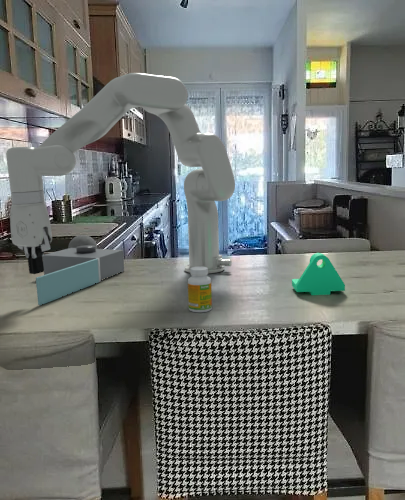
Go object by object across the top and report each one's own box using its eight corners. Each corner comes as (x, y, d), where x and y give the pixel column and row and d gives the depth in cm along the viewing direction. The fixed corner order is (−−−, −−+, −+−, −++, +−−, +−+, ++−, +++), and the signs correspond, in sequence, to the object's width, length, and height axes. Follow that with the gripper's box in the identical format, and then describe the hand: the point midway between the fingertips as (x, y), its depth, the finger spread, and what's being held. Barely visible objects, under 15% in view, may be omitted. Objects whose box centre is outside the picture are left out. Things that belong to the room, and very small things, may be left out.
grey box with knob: (124, 271, 153) (122, 245, 152) (99, 281, 140) (97, 252, 139) (72, 268, 161) (70, 243, 159) (44, 277, 148) (42, 250, 146)
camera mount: (336, 287, 127) (337, 249, 126) (344, 295, 120) (345, 254, 118) (291, 288, 127) (291, 250, 126) (296, 296, 120) (297, 255, 118)
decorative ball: (69, 261, 173) (67, 234, 171) (97, 259, 175) (96, 232, 174) (68, 266, 164) (66, 237, 162) (98, 264, 166) (96, 236, 164)
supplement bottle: (201, 314, 106) (200, 271, 105) (183, 310, 110) (182, 268, 108) (216, 308, 110) (215, 267, 109) (199, 304, 114) (197, 264, 112)
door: (98, 281, 140) (96, 258, 139) (101, 281, 140) (100, 258, 139) (37, 304, 117) (35, 277, 116) (41, 305, 116) (39, 277, 115)
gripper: (-5, 200, 117) (4, 273, 120) (36, 200, 109) (44, 279, 112) (21, 197, 123) (29, 267, 126) (61, 197, 115) (69, 271, 119)
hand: (36, 272), depth 119 cm, fingers closed
